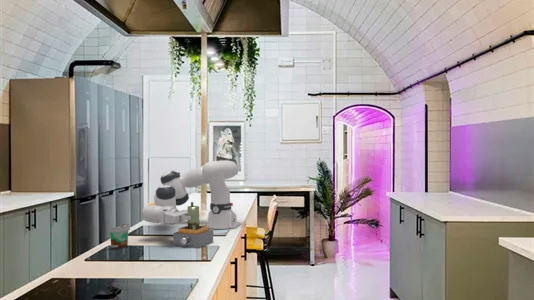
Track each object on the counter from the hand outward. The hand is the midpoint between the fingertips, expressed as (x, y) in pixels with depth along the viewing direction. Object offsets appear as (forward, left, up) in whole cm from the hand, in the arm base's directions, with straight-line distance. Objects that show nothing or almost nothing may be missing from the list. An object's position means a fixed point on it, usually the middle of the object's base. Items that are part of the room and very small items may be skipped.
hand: (195, 216), depth 219 cm
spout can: (0, -1, -6) cm, 6 cm away
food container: (+18, -29, -13) cm, 37 cm away
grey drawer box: (+1, -1, -13) cm, 13 cm away
